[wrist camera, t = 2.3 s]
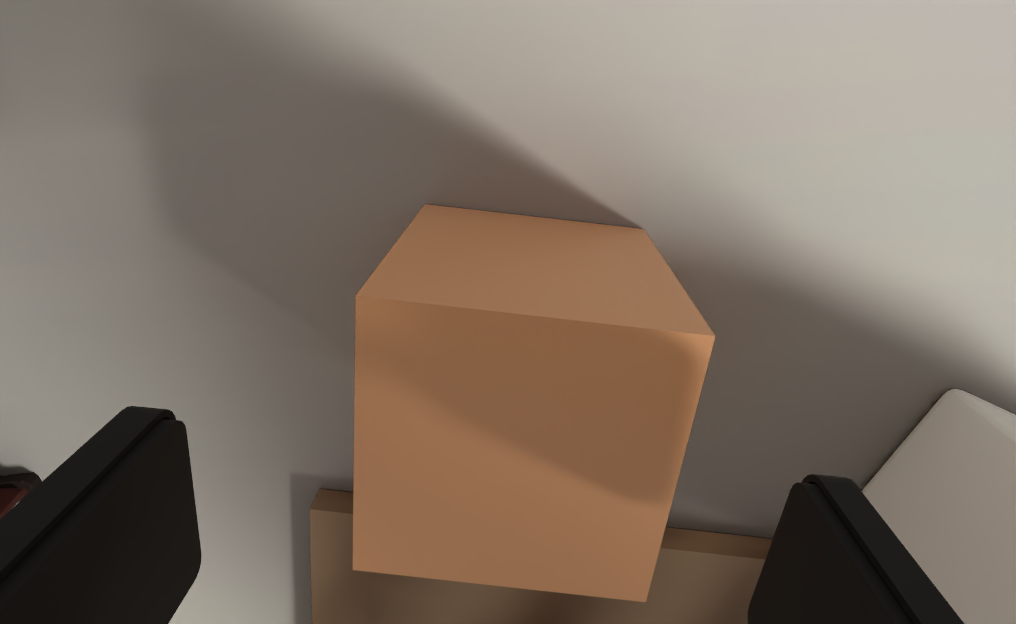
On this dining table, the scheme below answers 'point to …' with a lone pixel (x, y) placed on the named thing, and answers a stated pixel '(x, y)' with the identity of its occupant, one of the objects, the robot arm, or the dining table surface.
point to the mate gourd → (16, 489)
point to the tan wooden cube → (522, 403)
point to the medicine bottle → (957, 504)
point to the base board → (523, 612)
